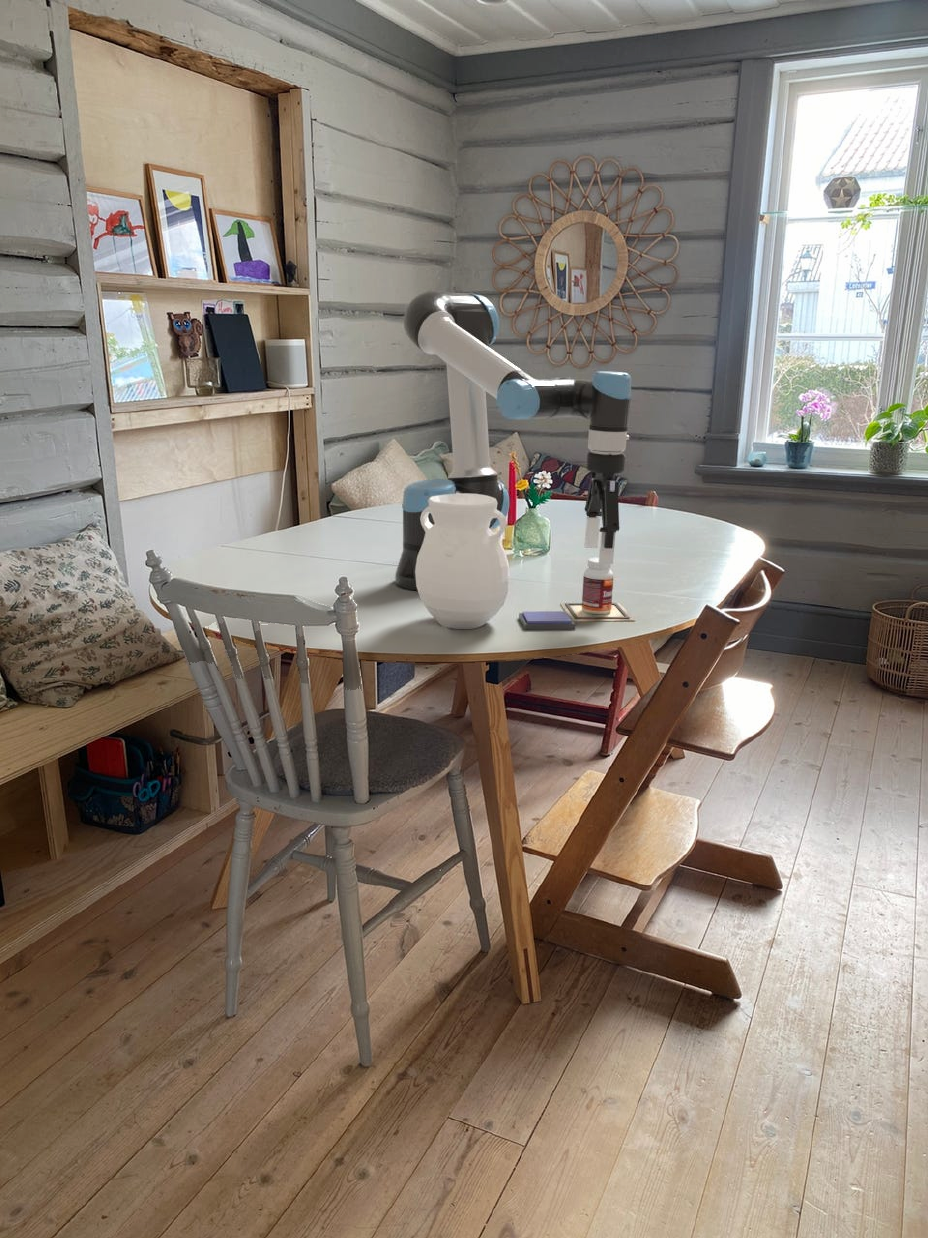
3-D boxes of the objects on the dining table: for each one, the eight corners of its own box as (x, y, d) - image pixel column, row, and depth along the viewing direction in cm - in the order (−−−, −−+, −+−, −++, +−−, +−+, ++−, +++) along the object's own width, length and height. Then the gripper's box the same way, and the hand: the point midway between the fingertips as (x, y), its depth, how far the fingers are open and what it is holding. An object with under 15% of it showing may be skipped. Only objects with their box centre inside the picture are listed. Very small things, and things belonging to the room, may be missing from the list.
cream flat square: (572, 621, 192) (572, 619, 192) (560, 604, 204) (560, 602, 204) (634, 621, 193) (635, 618, 193) (619, 603, 206) (619, 601, 205)
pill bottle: (607, 616, 195) (610, 564, 192) (578, 613, 197) (580, 561, 194) (614, 609, 200) (617, 558, 197) (585, 605, 203) (588, 555, 200)
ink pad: (524, 629, 186) (525, 622, 185) (518, 618, 193) (519, 610, 193) (575, 629, 187) (575, 621, 186) (567, 618, 194) (567, 610, 194)
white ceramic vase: (399, 629, 184) (399, 501, 177) (435, 606, 201) (437, 488, 194) (490, 641, 178) (494, 509, 171) (520, 616, 195) (524, 495, 187)
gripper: (641, 461, 178) (631, 570, 184) (610, 444, 201) (602, 541, 208) (602, 460, 177) (593, 570, 183) (575, 443, 201) (568, 541, 207)
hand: (598, 555), depth 196 cm, fingers open, 13 cm apart
